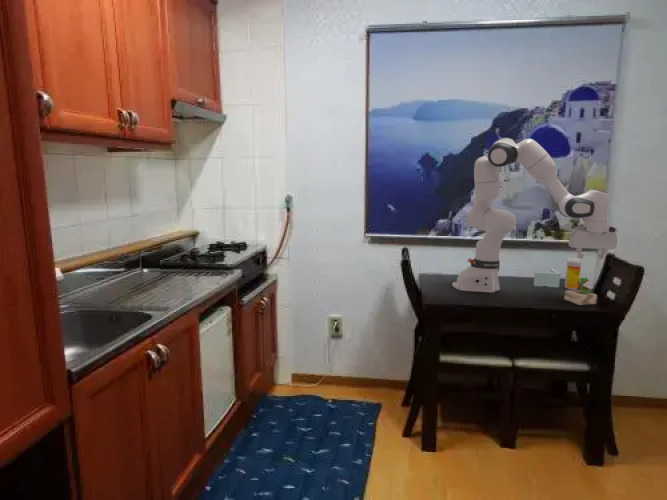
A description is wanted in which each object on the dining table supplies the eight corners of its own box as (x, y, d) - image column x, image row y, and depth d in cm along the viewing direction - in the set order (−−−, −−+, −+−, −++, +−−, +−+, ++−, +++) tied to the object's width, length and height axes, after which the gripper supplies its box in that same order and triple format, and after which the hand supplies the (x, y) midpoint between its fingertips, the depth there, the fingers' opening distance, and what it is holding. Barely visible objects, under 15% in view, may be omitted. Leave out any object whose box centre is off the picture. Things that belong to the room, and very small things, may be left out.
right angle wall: (550, 282, 252) (552, 268, 251) (558, 288, 240) (560, 273, 239) (527, 281, 253) (528, 267, 252) (534, 286, 241) (535, 272, 240)
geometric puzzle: (569, 285, 219) (579, 273, 213) (581, 284, 221) (591, 273, 215) (577, 297, 214) (587, 286, 208) (590, 296, 216) (600, 285, 210)
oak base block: (579, 306, 209) (580, 296, 208) (564, 300, 218) (565, 290, 217) (595, 304, 212) (597, 294, 211) (580, 299, 220) (581, 289, 219)
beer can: (579, 290, 234) (583, 260, 232) (566, 289, 236) (569, 259, 233) (575, 287, 240) (579, 258, 238) (562, 286, 241) (566, 257, 239)
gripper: (576, 227, 205) (571, 259, 207) (621, 228, 206) (616, 260, 208) (567, 225, 211) (563, 256, 213) (612, 227, 212) (607, 257, 215)
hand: (590, 258), depth 211 cm, fingers open, 8 cm apart
